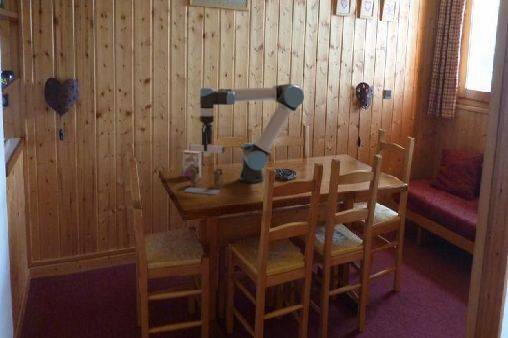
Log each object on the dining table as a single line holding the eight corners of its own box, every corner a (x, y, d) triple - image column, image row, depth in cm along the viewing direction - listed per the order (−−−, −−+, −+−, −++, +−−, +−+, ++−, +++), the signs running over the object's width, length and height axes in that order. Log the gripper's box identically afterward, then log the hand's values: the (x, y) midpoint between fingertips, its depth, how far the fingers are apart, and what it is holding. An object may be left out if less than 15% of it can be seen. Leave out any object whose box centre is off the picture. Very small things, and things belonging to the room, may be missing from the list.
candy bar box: (181, 177, 315) (181, 151, 311) (185, 175, 319) (185, 149, 315) (197, 179, 311) (198, 153, 307) (201, 177, 316) (201, 151, 312)
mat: (220, 191, 287) (220, 190, 287) (216, 195, 280) (216, 194, 280) (188, 188, 291) (188, 187, 291) (183, 192, 283) (183, 191, 283)
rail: (224, 152, 291) (224, 146, 290) (223, 153, 287) (223, 147, 286) (191, 149, 295) (191, 143, 294) (189, 151, 291) (189, 145, 290)
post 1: (199, 184, 300) (199, 166, 298) (195, 187, 294) (195, 169, 291) (194, 183, 301) (194, 166, 299) (190, 186, 294) (190, 169, 292)
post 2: (222, 186, 298) (222, 168, 295) (218, 189, 291) (218, 171, 288) (217, 185, 298) (217, 168, 296) (213, 188, 291) (213, 171, 289)
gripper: (205, 113, 294) (205, 152, 300) (196, 116, 279) (196, 158, 284) (217, 113, 293) (217, 153, 299) (209, 117, 277) (209, 159, 283)
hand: (207, 155), depth 292 cm, fingers closed on rail, 3 cm apart
